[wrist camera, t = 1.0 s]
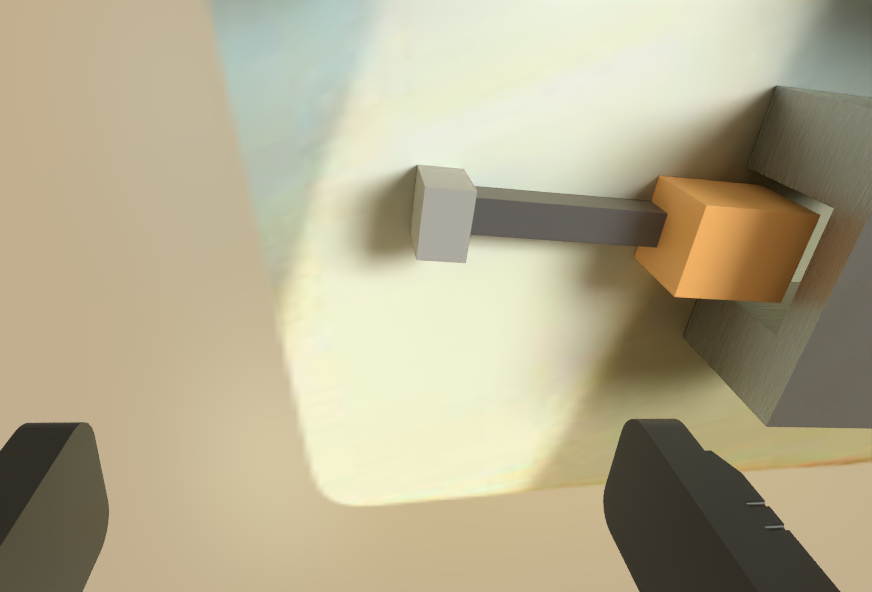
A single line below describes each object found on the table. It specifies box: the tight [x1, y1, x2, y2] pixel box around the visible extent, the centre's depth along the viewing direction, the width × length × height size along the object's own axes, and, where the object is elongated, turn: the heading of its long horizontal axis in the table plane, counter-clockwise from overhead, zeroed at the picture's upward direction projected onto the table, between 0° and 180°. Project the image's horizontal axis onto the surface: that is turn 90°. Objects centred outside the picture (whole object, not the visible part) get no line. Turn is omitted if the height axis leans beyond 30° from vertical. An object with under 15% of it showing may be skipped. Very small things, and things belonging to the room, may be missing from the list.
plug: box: [410, 165, 820, 303], centre depth 25 cm, size 4×16×4 cm, turn 83°
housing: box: [683, 86, 872, 428], centre depth 25 cm, size 12×6×7 cm, turn 173°
